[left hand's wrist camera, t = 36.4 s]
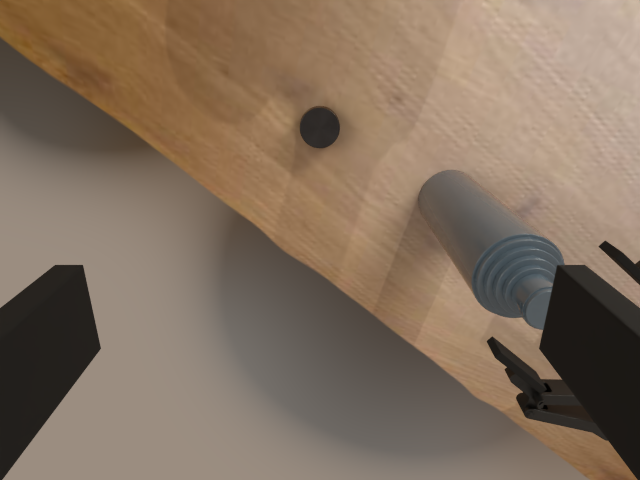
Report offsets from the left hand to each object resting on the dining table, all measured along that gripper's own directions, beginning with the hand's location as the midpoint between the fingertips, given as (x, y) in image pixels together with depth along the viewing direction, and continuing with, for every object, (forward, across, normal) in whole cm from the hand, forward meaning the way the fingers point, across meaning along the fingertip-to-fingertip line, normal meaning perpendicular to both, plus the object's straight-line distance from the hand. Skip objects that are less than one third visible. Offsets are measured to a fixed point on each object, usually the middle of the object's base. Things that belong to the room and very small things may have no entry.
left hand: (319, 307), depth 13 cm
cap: (+36, 0, 0) cm, 36 cm away
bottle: (+37, +14, -8) cm, 41 cm away
